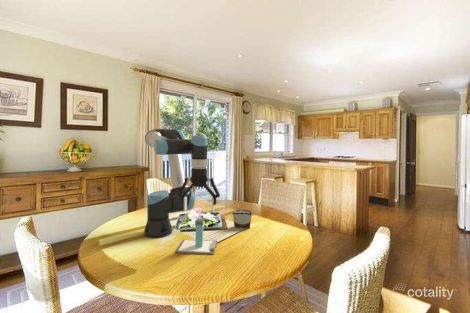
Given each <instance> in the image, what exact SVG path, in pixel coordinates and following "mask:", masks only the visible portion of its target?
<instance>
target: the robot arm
mask: <svg viewBox="0 0 470 313" xmlns="http://www.w3.org/2000/svg"><path fill="white" fill-rule="evenodd" d="M144 142H145V144H146V145H147V146H149V147H151V148H154V152H155V154H156V155H160V156H166V155H167V159H168V166H169V172H170V180H171V188H170V190H169V191H168V190H157V191H153V192H151V193H149V194H148V195H147V197H146V198H147V199H146V207H147V208H146V211H147V212H146V213H147V214H146V216H147V217H146V218H147V220H146V224H145V228H144V234H143V235H144V236H145V237H146V238H153V239H156V238H164V237H167V236H169V235H171V234H172V233H173V226H172V224H171V221H170V220H171V219H170V214H172V213H173V214H174V213H181V212H188V211H191V210H192V209H193V208H194V207H195V206H194V205H195V200H196V196H195V192H194V190H192V189H193V188H194V187H195V188H203V187H204V188H205V190H206V192H208V193H209V195H210V196H211V213H214V212H215V206H216V205H217V198H218V199H219V198H220V196H221V193H220V191H219V189H218V187H217V185H216V183H215V178H214V177H211V178H208V136H206V135H193V136H191V138H187V139H186V138H185V134H184V132H183V131H182V130H181V129H176V128H172V129H171V128H154V129H153V128H152V129H150V130H149V131H148V132H146V133H145V135H144ZM183 155H191V158H190V160H191V164H190V165H191V170H190V171H191V172H190V174H191V176H190V177H188V176H186V174H185V168H184V167H185V165H184V161H183ZM189 182H191V185H190V186H188V185H187V184H188V183H189ZM208 182H209V183H210V185H211V187H212V188H211V187H210V186H209V185H208Z"/></svg>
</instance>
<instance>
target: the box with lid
mask: <svg viewBox="0 0 470 313" xmlns="http://www.w3.org/2000/svg"><path fill="white" fill-rule="evenodd" d="M194 224H195V240H196V247H202V246H203V240H204V218H196V219H195V221H194Z"/></svg>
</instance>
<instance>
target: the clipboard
mask: <svg viewBox="0 0 470 313" xmlns="http://www.w3.org/2000/svg"><path fill="white" fill-rule="evenodd" d="M217 245H218V240H204V239H203V246H202V247H196V239H183V240H182V241H181V243H180V244H179V246H178V248H177V249H176V250H175V252H174V253H175V254H176V255H177V254H178V255H180V254H181V255H182V254H183V255H186V254H187V255H211V256H213V255H215V251H216V248H217Z"/></svg>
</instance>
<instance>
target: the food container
mask: <svg viewBox="0 0 470 313" xmlns="http://www.w3.org/2000/svg"><path fill="white" fill-rule="evenodd" d="M231 214H232V217H233V226H234V229H251V224H252V222H251V221H252V216H253V212H252V211H251V210H250V209H245V208H242V209H241V208H239V209H235V210H233V211H232V213H231Z"/></svg>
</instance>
